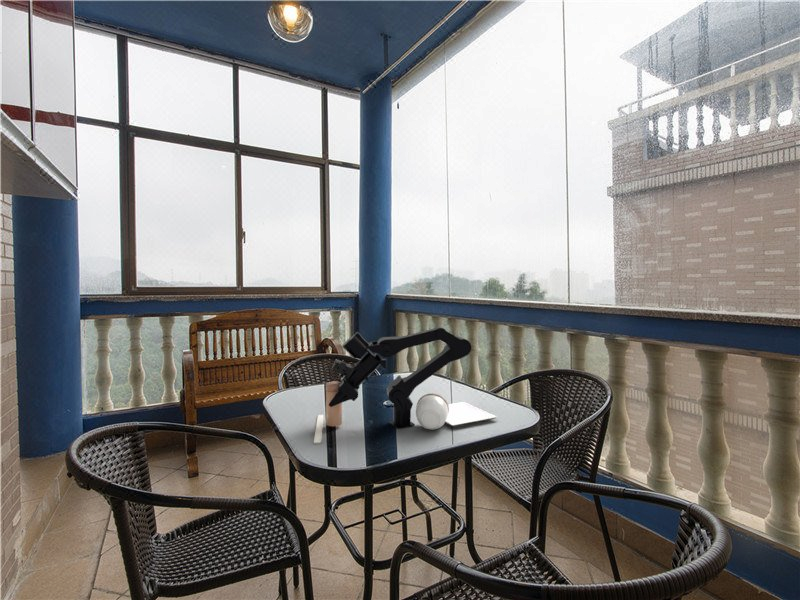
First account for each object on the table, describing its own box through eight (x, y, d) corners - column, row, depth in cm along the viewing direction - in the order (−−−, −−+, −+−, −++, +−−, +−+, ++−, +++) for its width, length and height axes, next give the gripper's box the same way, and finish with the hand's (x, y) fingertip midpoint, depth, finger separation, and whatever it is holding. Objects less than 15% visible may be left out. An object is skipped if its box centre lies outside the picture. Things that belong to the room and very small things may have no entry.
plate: (452, 431, 126) (452, 424, 126) (422, 413, 143) (422, 408, 142) (497, 422, 135) (497, 416, 135) (463, 406, 151) (464, 401, 151)
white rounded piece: (438, 397, 121) (440, 386, 130) (407, 410, 123) (411, 398, 133) (453, 428, 122) (454, 414, 131) (422, 440, 124) (425, 426, 133)
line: (320, 443, 115) (320, 441, 115) (313, 443, 114) (313, 442, 114) (323, 415, 138) (323, 414, 138) (318, 416, 138) (318, 414, 138)
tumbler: (344, 424, 126) (344, 384, 126) (328, 427, 124) (328, 386, 123) (339, 419, 131) (339, 380, 130) (323, 422, 129) (323, 382, 128)
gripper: (346, 346, 136) (313, 379, 135) (347, 356, 118) (309, 394, 117) (368, 368, 138) (336, 401, 137) (373, 381, 119) (336, 419, 118)
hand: (329, 403), depth 127 cm, fingers closed on tumbler, 5 cm apart
